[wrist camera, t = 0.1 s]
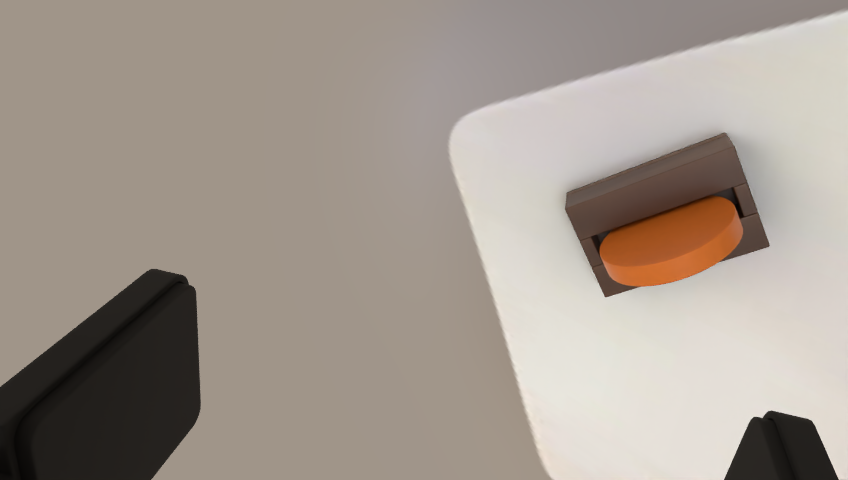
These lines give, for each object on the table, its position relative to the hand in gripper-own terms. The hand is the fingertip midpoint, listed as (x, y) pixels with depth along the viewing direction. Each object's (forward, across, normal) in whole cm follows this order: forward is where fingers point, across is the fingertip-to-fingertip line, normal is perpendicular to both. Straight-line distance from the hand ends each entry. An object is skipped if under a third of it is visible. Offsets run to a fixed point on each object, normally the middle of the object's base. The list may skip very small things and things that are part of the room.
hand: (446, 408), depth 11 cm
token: (+28, -8, +7) cm, 30 cm away
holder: (+29, -8, +7) cm, 31 cm away
